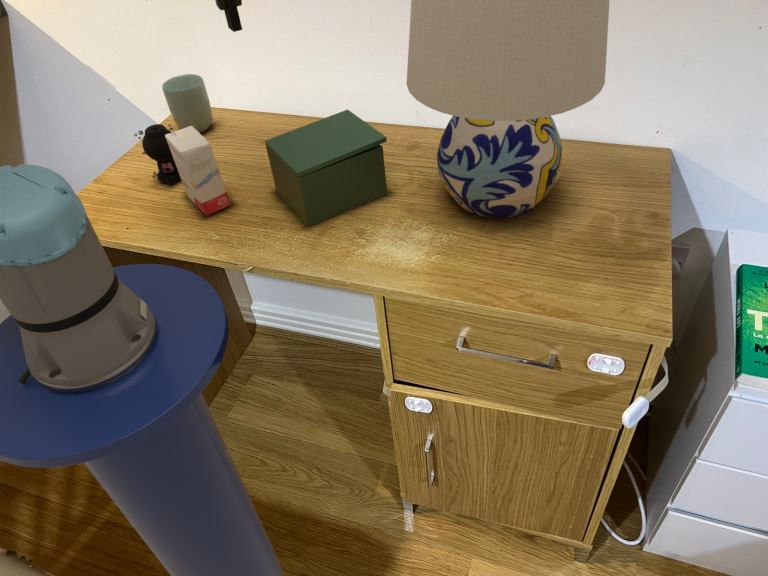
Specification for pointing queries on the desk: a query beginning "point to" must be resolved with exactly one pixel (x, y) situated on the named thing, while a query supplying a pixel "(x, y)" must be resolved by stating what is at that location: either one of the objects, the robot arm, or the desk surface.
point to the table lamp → (504, 90)
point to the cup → (188, 101)
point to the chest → (331, 185)
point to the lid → (324, 142)
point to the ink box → (198, 170)
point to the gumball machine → (160, 152)
